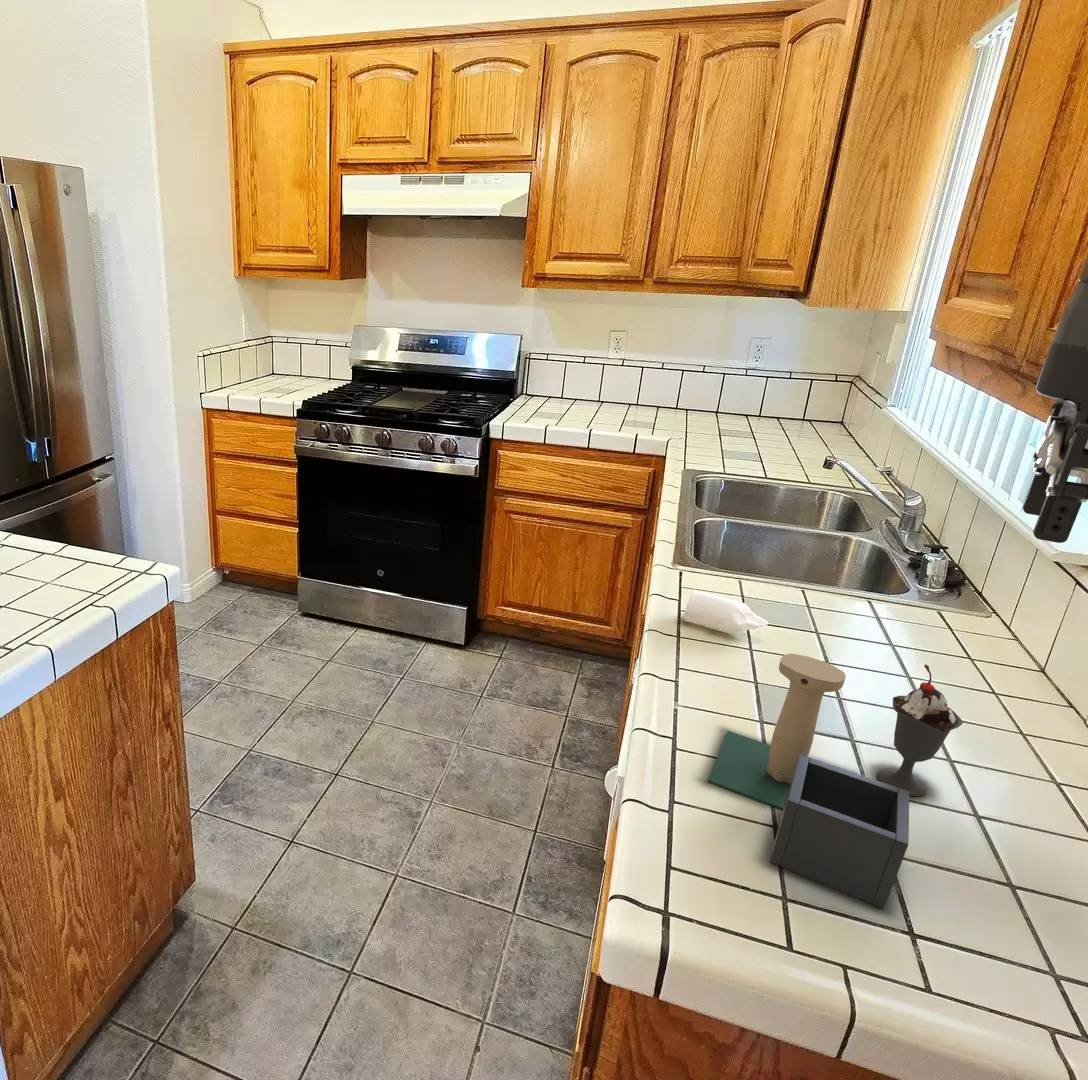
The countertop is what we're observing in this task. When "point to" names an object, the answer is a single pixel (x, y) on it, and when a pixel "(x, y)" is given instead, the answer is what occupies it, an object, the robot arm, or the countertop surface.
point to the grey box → (843, 830)
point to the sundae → (918, 734)
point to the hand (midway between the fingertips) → (1041, 526)
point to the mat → (747, 770)
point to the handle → (800, 711)
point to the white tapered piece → (720, 613)
